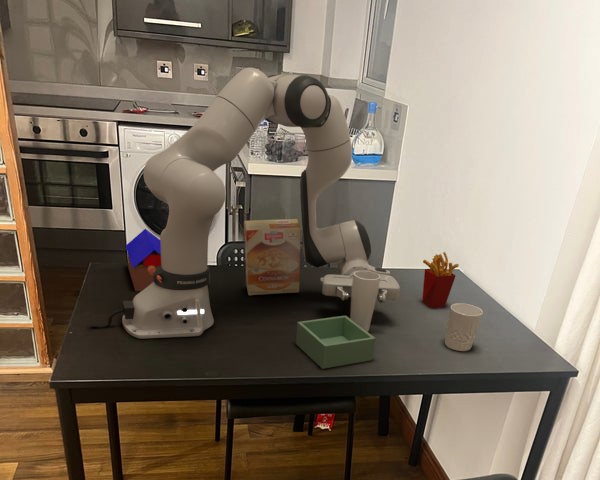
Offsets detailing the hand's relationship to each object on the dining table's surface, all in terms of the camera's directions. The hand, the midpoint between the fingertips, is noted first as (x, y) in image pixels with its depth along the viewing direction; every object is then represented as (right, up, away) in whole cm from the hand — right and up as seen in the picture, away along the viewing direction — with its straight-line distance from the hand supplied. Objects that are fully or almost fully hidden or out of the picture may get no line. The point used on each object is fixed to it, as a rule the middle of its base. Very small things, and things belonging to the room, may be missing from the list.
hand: (363, 298), depth 151 cm
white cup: (+24, -12, +2) cm, 27 cm away
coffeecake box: (-24, +7, +23) cm, 34 cm away
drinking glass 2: (-1, -7, +5) cm, 9 cm away
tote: (-8, -14, -7) cm, 18 cm away
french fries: (+22, +3, +26) cm, 34 cm away
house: (-60, +10, +25) cm, 65 cm away
